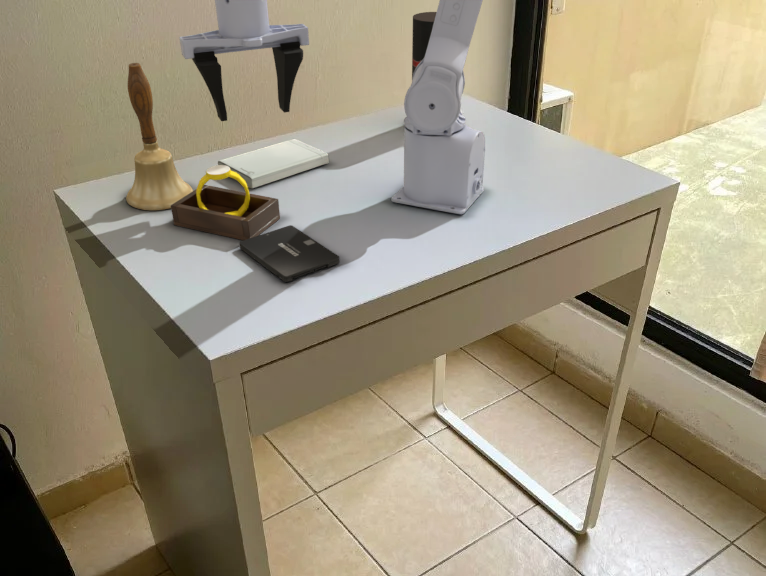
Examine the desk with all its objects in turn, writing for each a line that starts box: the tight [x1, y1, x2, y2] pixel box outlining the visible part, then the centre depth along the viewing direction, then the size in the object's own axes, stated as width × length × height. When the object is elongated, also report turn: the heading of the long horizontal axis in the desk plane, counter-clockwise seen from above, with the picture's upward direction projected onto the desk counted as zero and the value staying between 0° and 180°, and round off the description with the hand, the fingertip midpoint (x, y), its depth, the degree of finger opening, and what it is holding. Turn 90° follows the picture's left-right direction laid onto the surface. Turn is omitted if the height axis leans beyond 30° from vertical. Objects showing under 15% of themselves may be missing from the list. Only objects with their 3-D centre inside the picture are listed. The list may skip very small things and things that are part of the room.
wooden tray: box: [170, 184, 281, 241], centre depth 91 cm, size 11×7×2 cm, turn 65°
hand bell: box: [125, 62, 194, 211], centre depth 92 cm, size 8×8×16 cm
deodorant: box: [411, 11, 437, 78], centre depth 112 cm, size 6×6×15 cm
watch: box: [195, 164, 251, 217], centre depth 89 cm, size 6×3×6 cm, turn 102°
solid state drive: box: [238, 225, 341, 283], centre depth 84 cm, size 7×10×1 cm
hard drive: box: [217, 138, 330, 189], centre depth 104 cm, size 2×8×12 cm
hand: (253, 114), depth 93 cm, fingers open, 7 cm apart
